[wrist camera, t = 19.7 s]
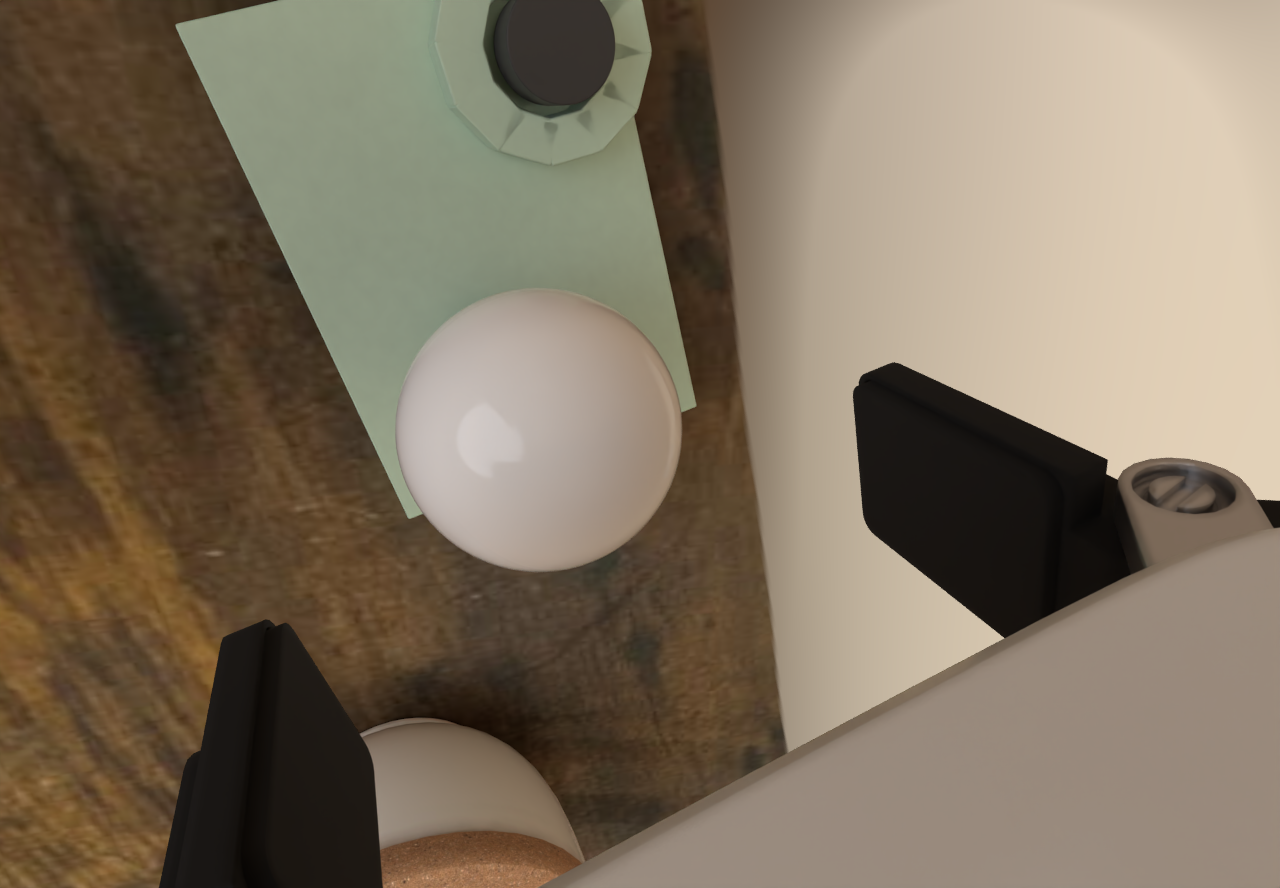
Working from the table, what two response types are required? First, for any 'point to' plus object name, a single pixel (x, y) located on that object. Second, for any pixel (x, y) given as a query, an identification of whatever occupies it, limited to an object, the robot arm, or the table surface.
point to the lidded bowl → (463, 810)
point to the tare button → (554, 49)
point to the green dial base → (432, 178)
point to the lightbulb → (538, 429)
